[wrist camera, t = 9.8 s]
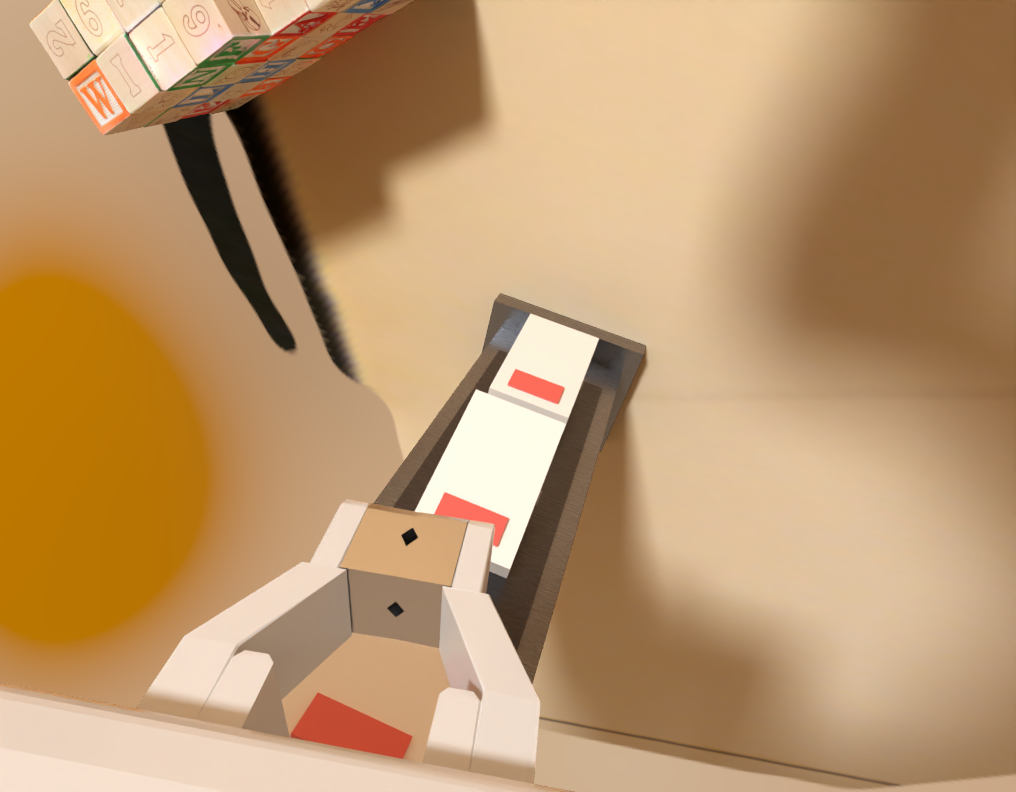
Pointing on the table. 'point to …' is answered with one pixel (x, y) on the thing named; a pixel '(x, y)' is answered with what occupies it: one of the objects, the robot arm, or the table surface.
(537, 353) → the bottom rocker
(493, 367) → the power strip
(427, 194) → the table surface
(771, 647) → the table surface
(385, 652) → the top rocker
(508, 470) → the middle rocker
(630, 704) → the table surface
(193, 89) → the stack of blocks
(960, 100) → the table surface
